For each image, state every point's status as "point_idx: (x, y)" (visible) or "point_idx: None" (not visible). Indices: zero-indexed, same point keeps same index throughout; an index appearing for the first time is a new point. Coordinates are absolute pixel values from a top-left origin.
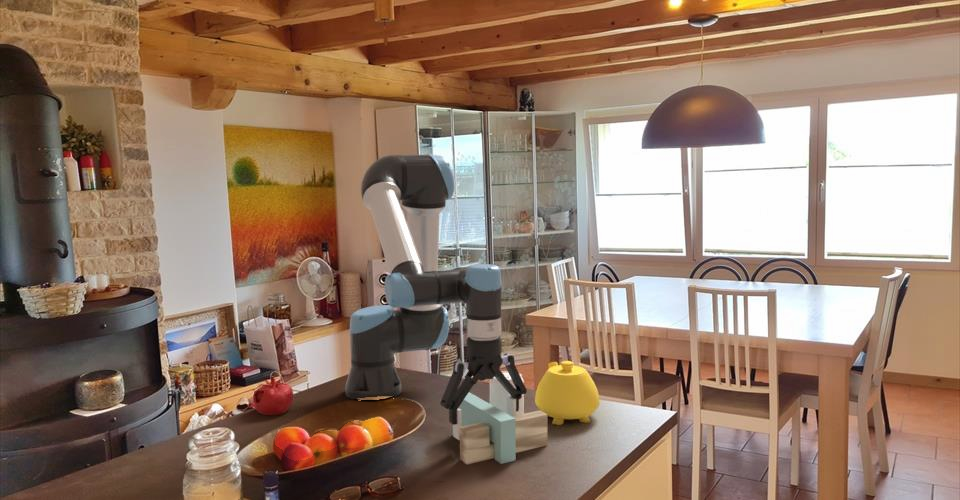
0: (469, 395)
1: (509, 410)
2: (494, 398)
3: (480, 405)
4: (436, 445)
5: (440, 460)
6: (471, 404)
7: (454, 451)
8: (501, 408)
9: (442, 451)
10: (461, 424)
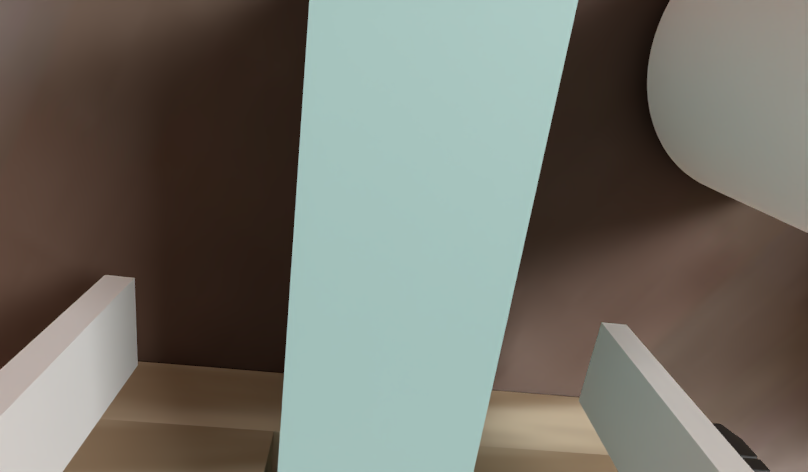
0: (491, 40)
1: (650, 441)
2: None
3: (350, 463)
4: (82, 78)
5: (11, 307)
6: (285, 366)
7: (155, 245)
8: (757, 177)
9: (80, 199)
10: (78, 447)
